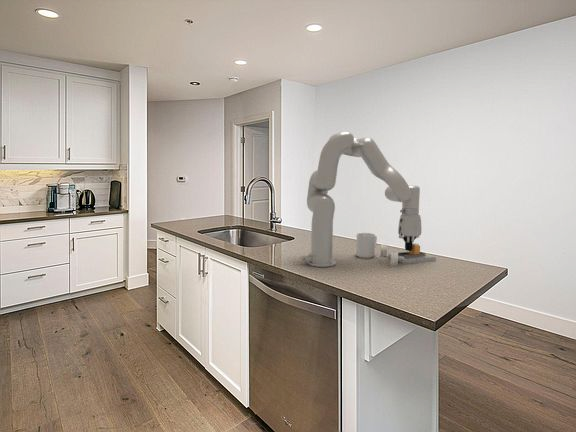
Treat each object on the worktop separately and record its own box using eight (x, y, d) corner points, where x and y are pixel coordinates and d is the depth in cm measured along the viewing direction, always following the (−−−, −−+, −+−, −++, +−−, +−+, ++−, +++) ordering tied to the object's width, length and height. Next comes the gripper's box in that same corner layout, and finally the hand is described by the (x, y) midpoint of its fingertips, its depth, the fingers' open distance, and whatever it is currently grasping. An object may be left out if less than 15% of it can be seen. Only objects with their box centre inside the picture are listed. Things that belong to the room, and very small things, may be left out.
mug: (365, 259, 175) (366, 236, 173) (352, 256, 182) (352, 234, 180) (382, 256, 182) (383, 234, 180) (368, 253, 189) (369, 231, 188)
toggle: (414, 255, 173) (414, 244, 173) (409, 253, 177) (409, 243, 177) (419, 255, 174) (420, 244, 174) (414, 253, 178) (414, 242, 177)
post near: (393, 266, 162) (393, 253, 161) (389, 265, 164) (389, 252, 164) (398, 266, 162) (399, 253, 162) (395, 264, 165) (395, 251, 165)
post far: (382, 256, 180) (383, 244, 180) (379, 255, 183) (379, 243, 183) (387, 256, 181) (388, 244, 181) (384, 255, 184) (385, 243, 183)
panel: (402, 263, 167) (403, 256, 167) (388, 257, 179) (388, 251, 178) (435, 261, 173) (436, 254, 172) (419, 255, 184) (419, 249, 184)
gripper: (401, 213, 166) (399, 252, 169) (428, 212, 171) (426, 250, 173) (391, 211, 174) (390, 249, 176) (418, 210, 178) (416, 247, 180)
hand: (408, 250), depth 174 cm, fingers closed
